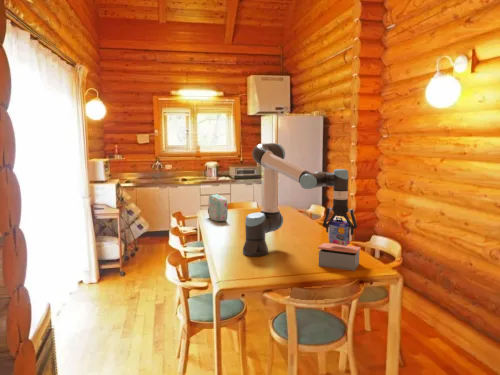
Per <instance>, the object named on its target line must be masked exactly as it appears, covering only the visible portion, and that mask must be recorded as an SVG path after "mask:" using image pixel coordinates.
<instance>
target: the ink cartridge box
mask: <svg viewBox="0 0 500 375" xmlns="http://www.w3.org/2000/svg"><path fill="white" fill-rule="evenodd" d="M329 226H330V231H329V239H328V240H329V242H328V243H329V244H337V245H343V246H350V244H351V241H349V229H350V226H349V223H347V221H346V220H344V219H343V218H342V217H340V216H335V219H333V220H332V221H330V225H329Z"/></svg>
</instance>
